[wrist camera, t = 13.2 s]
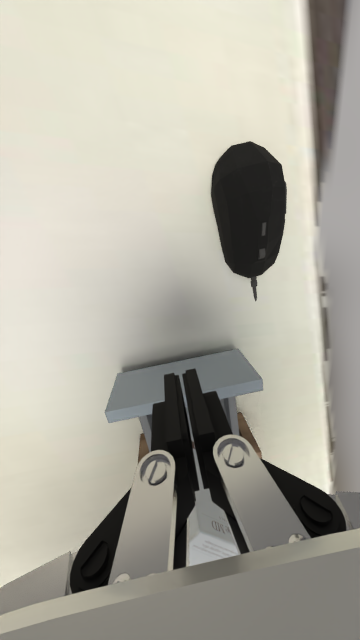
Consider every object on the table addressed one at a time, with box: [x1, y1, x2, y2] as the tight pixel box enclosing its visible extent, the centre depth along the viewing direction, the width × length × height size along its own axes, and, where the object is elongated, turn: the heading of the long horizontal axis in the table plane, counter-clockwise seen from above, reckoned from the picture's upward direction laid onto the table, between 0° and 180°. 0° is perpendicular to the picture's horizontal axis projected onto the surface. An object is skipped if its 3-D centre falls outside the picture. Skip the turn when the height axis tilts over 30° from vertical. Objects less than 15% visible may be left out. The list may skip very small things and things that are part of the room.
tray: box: [105, 349, 263, 452], centre depth 24 cm, size 18×14×6 cm
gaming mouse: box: [211, 141, 287, 301], centre depth 20 cm, size 6×15×4 cm, turn 13°
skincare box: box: [186, 406, 239, 566], centre depth 20 cm, size 6×4×12 cm
